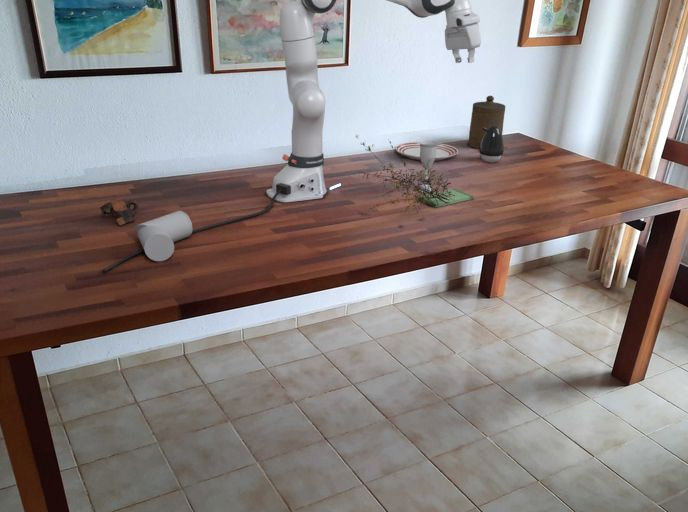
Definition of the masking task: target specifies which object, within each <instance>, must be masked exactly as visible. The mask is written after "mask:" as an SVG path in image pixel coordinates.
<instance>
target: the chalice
mask: <svg viewBox="0 0 688 512" xmlns="http://www.w3.org/2000/svg"><path fill="white" fill-rule="evenodd" d="M418 142H419V143H420V145H421V147H420V158H421V161H420V162H421V164H422V166H423V167H422V168H424V167H427V168H426V170H425V172H424V177H423V179H424V178H425V176H426V175H427V176H426V178H425V179H424V180H428V179H427V178H429V175H428V173H427V172H428V169H430V168H432V167H433V164H434V162H435V161H434V160H435V157H436V150H437V145H438V143H439V141H435V140H432V139H431V140H430V139H423V140H420V141H418ZM429 156H430V157H429ZM429 160H430V161H429ZM423 161H424V162H423ZM428 161H429V162H428ZM422 162H423V163H422ZM427 165H428V166H429V167H428V166H427ZM426 171H427V172H426ZM423 183H426V182H423ZM423 183H421V184H422V185H419V186H420V187H422V188H420V189H423V188H424V189H423V190H425V186H426V191H427V189H428V187H429V186H430V185H429V184H428V185H429V186H428V185H426V184H425V185H424V184H423ZM430 187H431V186H430ZM430 187H429V188H430ZM420 189H419V191H420ZM431 189H432V188H430V189H428V190H430V192H431V191H433V189H432V190H431ZM428 192H429V191H428ZM421 193H423V191H422V192H421ZM424 193H425V192H424ZM425 194H426V193H425Z"/></svg>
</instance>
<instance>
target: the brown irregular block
mask: <svg viewBox="0 0 688 512" xmlns="http://www.w3.org/2000/svg"><path fill="white" fill-rule="evenodd" d="M132 205H133V208H132V209H131V206H132ZM99 209H100V211H101V212H100V213H101V216H102V217H104V216H105V215H112V216H113V217H116V216H118V215H119V214H120V217H119V218H116V222H117V223H118V226H119V227H120V226H123V225H125V224H127V223H131V222H133V221H134V220H133V218H134V215H135V214H136V213H137V212H138V210H139V203H138V202H137V201H136V200H134V199H130V200H128V201H123V200H122V198H119V197H118V198H116V199H113V200H111V201H109V202H106V203H104V204H103V205H101V206H100V207H99Z"/></svg>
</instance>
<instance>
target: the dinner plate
mask: <svg viewBox="0 0 688 512" xmlns="http://www.w3.org/2000/svg"><path fill="white" fill-rule="evenodd" d="M419 142H420V141H410V142H403V143H399V144H397V145H396V146H394V147H395V148H394V150H395V149H396V150H397V151H396V153H397V152H398V153H399V154H400V155H402V156H404V157H406V158H408V159H411V160H414V161H420V162H421V158H420V147H421V145H420V143H419ZM458 153H459V149H457V148H456V147H454V146H452V145H449V144H446V143H440V142H438V145H437V150H436V157H435V160H434V162H438V161H439V162H440V161H444V160H446V159H449V158H452V157H454V156H456V155H457V154H458Z"/></svg>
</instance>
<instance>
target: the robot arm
mask: <svg viewBox="0 0 688 512" xmlns="http://www.w3.org/2000/svg"><path fill="white" fill-rule="evenodd" d="M386 1H387V2H391V3H393V4H395V5H399V6H403V7H404V8H406V9H407V10H408V11H409V12H410V13H411V14H412V15H414V16H415V17H417V18H420V19H424V18H428V17H430V16H436V15H439V14H441V13H442V12H445V19H446V20H445V21H446V26H445V29H444V45H445V48H446V50H447V51H451V52H452V55H453V57H454V62H455V64H460V63H462V61H463V59H462V56H461V55H460V50H467V53H468V54H467V56H468V57H467V58H466V59H467V63H468V64H471V63H474V62H475V53H476V49H478V48H480V47H481V44H482V37H481V36H482V35H481V28H480V24H479V23H480V21H481V20H480V15H479V14H476V13H475V12H474V11H473V10H472V5H471V2H470V0H386ZM336 2H337V0H289V1H287V2H285V3H284V4H283V5H282V6H281V7H280V9H279V33H280V40H281V46H282V54H283V58H284V64H285V65H284V67H285V77H286V85H287V86H286V87H287V93H288V99H289V102H290V103H291V106H292V124H291V125H292V126H291V131H290V132H291V152H290V155H287V154H283V155H282V156H281V157H282V158H281V159H282V160H283V161H285V162H287V164H286V165H285V166H284V167H283V168H282V169H281V170H280V171H278V172H277V174H275V175H274V176H273V179H272V184H271V185H272V186H271V188H268V189H266V195H267V196H268V198H270V199H271V200H270V204H269V205H268V207H266V208H265V209H263V210H261V211H257V212H255V213H250V214H247V215H243V216H240V217H236V218H233V219H229V220H225V221H221V222H217V223H212V224H209V225H206V226H202V227H199V228H195V229H192V234H195V233H199V232H202V231H206V230H208V229H213V228H217V227H219V226H224V225H227V224H232V223H235V222H239V221H242V220H246V219H249V218H253V217H257V216H259V215H262V214H264V213H267V212H268V211H269V210H270V209H271V208H272V206H273V205H274V202H275V201H276V202H280V203H294V202H301V201H302V202H303V201H310V200H319V199H323V198H324V195H326V193H327V192H328V190H327V187H326V183H325V175H324V163H325V162H324V161H325V159H324V152H323V133H324V122H325V111H326V95H325V94H324V92H323V90H322V88H320V87H321V86H320V84H319V73H318V70H319V69H318V62H319V61H318V55H317V45H316V39H315V33H314V26H313V25H314V24H313V22H314V17H315V15H316V14H325V13H327V12H329V11H331V10H332V9H333V7H334V6H335V4H336ZM341 186H342V184H341V183H338V184H335V185H333V186H330V187H329V190H333V189H336V188H338V187H341ZM143 253H145V251H144V249H143V248H141V249H139V250H136V251H135V252H133V253H131V254H129V255H126V256H125V257H123V258H122V259H120V260H117V261H116V262H113V263H112V264H110V265H108V266H107V267H105V268H103V269H102V272H103V273H106V272H108V271H110V270H111V269H114V268H115V267H117V266H119V265H120V264H123V263H124V262H126V261H128V260H130V259H132V258H133V257H136V256H137V255H140V254H143Z"/></svg>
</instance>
